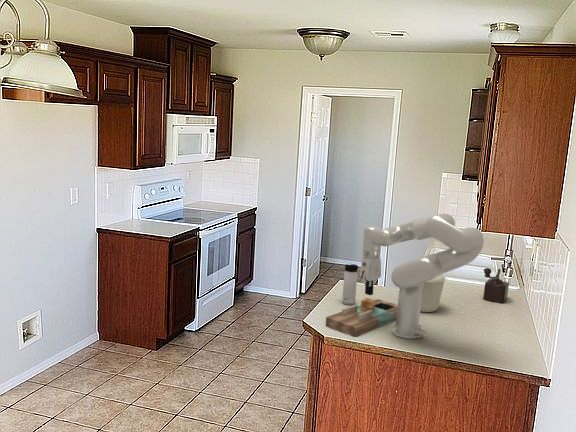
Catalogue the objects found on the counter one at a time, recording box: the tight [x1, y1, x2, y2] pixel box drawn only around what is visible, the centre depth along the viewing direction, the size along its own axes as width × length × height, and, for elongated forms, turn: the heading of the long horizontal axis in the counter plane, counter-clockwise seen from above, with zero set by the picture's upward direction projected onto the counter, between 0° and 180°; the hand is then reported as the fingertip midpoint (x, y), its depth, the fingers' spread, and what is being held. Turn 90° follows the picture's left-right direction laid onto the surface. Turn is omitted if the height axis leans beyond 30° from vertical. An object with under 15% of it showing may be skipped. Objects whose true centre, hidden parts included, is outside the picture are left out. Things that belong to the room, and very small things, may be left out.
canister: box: [420, 274, 447, 313], centre depth 275 cm, size 18×18×21 cm
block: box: [360, 297, 376, 312], centre depth 258 cm, size 5×5×5 cm
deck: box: [325, 298, 398, 338], centre depth 256 cm, size 16×40×7 cm, turn 137°
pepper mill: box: [482, 267, 510, 305], centre depth 295 cm, size 16×11×18 cm
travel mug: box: [341, 263, 359, 306], centre depth 278 cm, size 6×7×20 cm
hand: (368, 294), depth 253 cm, fingers closed
